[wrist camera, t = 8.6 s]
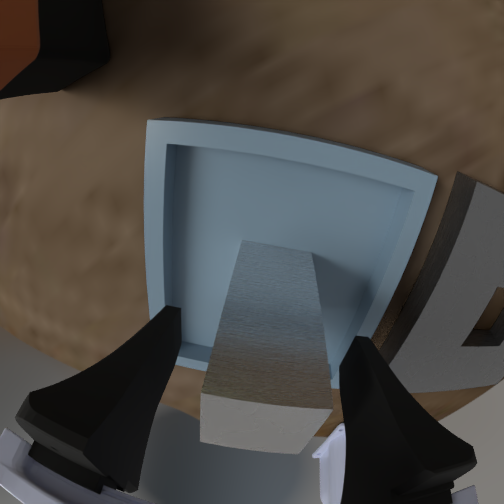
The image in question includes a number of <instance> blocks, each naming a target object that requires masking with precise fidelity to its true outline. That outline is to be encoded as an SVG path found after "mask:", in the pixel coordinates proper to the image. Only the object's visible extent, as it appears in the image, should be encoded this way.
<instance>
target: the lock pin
mask: <svg viewBox="0 0 504 504" xmlns="http://www.w3.org/2000/svg"><path fill="white" fill-rule="evenodd" d="M332 411H333V400H332V390H331V381H330V372H329V364H328V356H327V348H326V341H325V333H324V326H323V319H322V313H321V306H320V300H319V293H318V287H317V281H316V275H315V270H314V264H313V258H312V253H311V252H307V251H302V250H296V249H290V248H285V247H279V246H274V245H268V244H262V243H256V242H251V241H245V240H242V241H241V245H240V248H239V252H238V256H237V259H236V263H235V267H234V270H233V274H232V278H231V281H230V285H229V289H228V292H227V296H226V300H225V303H224V307H223V311H222V315H221V318H220V322H219V326H218V330H217V333H216V337H215V341H214V345H213V348H212V352H211V356H210V360H209V364H208V368H207V371H206V375H205V379H204V383H203V387H202V391H201V411H200V442H205V443H210V444H215V445H221V446H227V447H233V448H240V449H247V450H255V451H264V452H274V453H287V454H299V453H300V451H301V450H302V449H303V448H304V447H305V445H306V444H307V443H308V442H309V441H310V439H311V438H312V437H313V436H314V434H315V433H316V432H317V431H318V429H319V428H320V427H321V426H322V424H323V423H324V422H325V420H326V419H327V418H328V416H329V415H330V414H331V412H332Z"/></svg>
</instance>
